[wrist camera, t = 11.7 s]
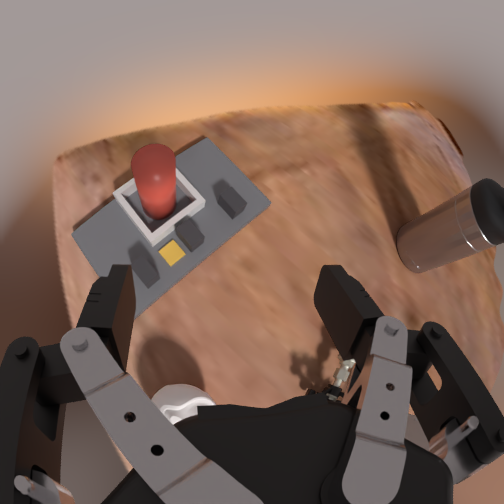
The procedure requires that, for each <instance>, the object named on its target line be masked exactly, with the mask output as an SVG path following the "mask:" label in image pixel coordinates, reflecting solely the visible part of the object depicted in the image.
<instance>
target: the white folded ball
mask: <svg viewBox="0 0 504 504" xmlns="http://www.w3.org/2000/svg"><path fill="white" fill-rule="evenodd" d="M151 401H152V402H153V403H154V404H155V405H156V407H157V408H158V409H159V410H160V411H161V412H162V413H163V415H164V416H165V417H166V418H167V419H168V420H169V421H170V422H171V423H172V424H173V425H174V424H175V423H177V422H179V421H180V420H182V419H185V418H187V417H190V416H193V415H197V414H198V413H197V406H207V405H216V404H215V402H214V401H213V399H212V398H211V397H210V395H209V394H208V393H207V392H204V391H202V390H201V389H199V388H197V387H195V386H192V385H187V384H174V385H166V386H164V387H163V388H161V389H160V390H159V391H158V392H157V393H156V394H155V395H154V396H153V398H152V399H151Z"/></svg>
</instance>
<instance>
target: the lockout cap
mask: <svg viewBox="0 0 504 504" xmlns="http://www.w3.org/2000/svg"><path fill="white" fill-rule="evenodd" d="M131 168H132V172H133V176H134V179H135V183H136V187H137V191H138V194H139V198H140V201H141V205H142V208H143V211H144V213H145V214H146V215H147V216H148V217H149V218H151V219H154V220H162V219H165V218H167V217H169V216H170V215H171V214H172V213H173V212H174V210H175V208H176V158H175V155H174V153H173V151H172V150H171V149H170V148H169V147H167V146H165V145H162V144H150V145H146V146H144V147H142V148H141V149H139V150H138V151H137V152H136V153H135V155H134V156H133V158H132V161H131Z"/></svg>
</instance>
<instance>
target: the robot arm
mask: <svg viewBox="0 0 504 504" xmlns="http://www.w3.org/2000/svg"><path fill="white" fill-rule="evenodd" d="M501 243H504V188H502V187H501V186H500V185H499V184H498V183H496V182H495V181H493V180H492V179H487V178H486V179H482V180H481V181H479V182H477V183H476V184H474V185H473V186H471V187H469V188H468V189H466V190H464V191H463V192H461V193H459V194H458V195H456V196H454V197H453V198H451V199H449V200H448V201H446V202H444V203H442V204H441V205H439V206H437V207H435V208H434V209H432V210H430V211H428V212H427V213H425V214H423V215H421V216H420V217H418V218H416V219H414V220H412V221H410V222H409V223H407V224H405V225H403V226H402V227H401V228H400V230H399V232H398V235H397V248H398V252H399V255H400V257H401V260H402V261H403V263H404V264H405V266H406V267H407V268H408V269H410V270H411V271H413V272H415V273H422V272H425V271H428V270H431V269H434V268H437V267H440V266H443V265H446V264H448V263H451V262H454V261H457V260H460V259H462V258H465V257H468V256H470V255H473V254H476V253H478V252H481V251H483V250H486V249H488V248H491V247H493V246H496V245H498V244H501ZM369 296H370V295H369V294H368V293H367V291H365V289H364V287H363V286H362V285H361V284H360V282H359V281H357V280H356V279H354V278H353V277H352V276H349V275H348V274H347V272H346V271H345V270H344V268H343V267H342V266H341V265H324V266H323V267H322V269H321V272H320V275H319V279H318V282H317V286H316V289H315V293H314V304H315V307H316V309H317V311H318V313H319V315H320V317H321V319H322V321H323V322H324V324H325V326H326V328H327V330H328V332H329V334H330V336H331V338H332V340H333V342H334V344H335V346H336V348H337V349H338V351H339V353H340V355H341V357H342V359H343V361H346V360H351V359H354V360H355V364H354V366H353V368H352V371H351V375H350V378H349V381H348V384H347V388H346V391H345V394H344V397H343V400H342V402H341V403H340V402H336V401H328V400H327V399H326V396H325V394H324V392H322V393H317V394H311V395H305V396H299V397H294V398H292V399H289V400H287V401H284V402H282V403H279V404H277V405H274V406H271V407H268V408H255V407H247V406H239V405H232V404H227V405H207V406H197V413H198V414H197V415H193V416H190V417H187V418H185V419H182V420H180V421H179V422H177V423H175V424H174V425H173V424H172V423H171V422H170V421H169V420H168V419H167V418H166V417H165V416H164V415H163V413H162V412H161V411H160V410H159V409H158V408H157V407H156V405H155V404H154V403H153V402H152V401H151V400H150V398H149V397H148V396H147V395H146V394H145V392H144V391H143V390H142V389H141V388H140V386H139V385H138V384H137V383H136V381H135V380H134V379H133V378H132V376H131V375H130V374H129V373H127V372H126V367H127V360H128V353H129V346H130V340H131V334H132V328H133V322H134V317H135V311H136V294H135V287H134V280H133V273H132V267H131V265H130V264H113V265H112V267H111V269H110V272H109V275H108V277H103V276H101V277H100V278H99V279H98V280H97V281H95V282H94V283H93V285H92V287H91V290H90V292H89V295H88V297H87V300H86V302H85V305H84V307H83V310H82V312H81V315H80V318H79V321H78V323H77V326H76V328H74V329H72V330H70V331H68V332H67V333H66V334H65V335H64V336H63V337H62V339H61V342H60V343H58V344H54V345H48V346H43V347H39V345H38V343H37V342H36V340H34V339H33V338H31V337H21V338H18V339H16V340H14V341H13V342H12V343H11V344H10V345H9V347H8V349H7V351H6V353H5V356H4V358H3V361H2V364H1V367H0V504H75V502H74V499H73V496H72V494H71V493H70V492H69V491H68V489H67V488H66V487H64V486H63V485H61V484H60V467H61V449H62V435H63V426H64V417H65V410H66V403H69V402H76V401H81V400H86V399H87V401H88V403H89V404H90V406H91V408H92V409H93V411H94V413H95V414H96V416H97V417H98V419H99V421H100V422H101V424H102V425H103V427H104V428H105V430H106V431H107V433H108V434H109V435H110V437H111V438H112V440H113V441H114V443H115V444H116V445H117V447H118V448H119V449H120V451H121V452H122V453H123V455H124V456H125V457H126V459H127V460H128V461H129V462H130V464H131V465H132V466H133V467H134V468H133V469H132V470H131V471H130V472H129V473H128V475H127V476H126V477H125V478H124V479H123V480H122V481H121V482H120V483H119V484H118V486H117V487H116V488H115V489H114V490H113V491H112V492H111V493H110V494H109V495H108V496H107V498H106V499H105V500H104V501H103V502H102V503H101V504H453V485H454V484H458V483H460V482H461V481H463V480H465V479H466V478H468V477H470V476H472V475H473V474H475V473H476V472H478V471H479V470H481V469H483V468H484V467H485V466H487V465H488V464H490V463H491V462H493V461H494V460H496V459H497V458H498V457H500V456H501V455H502V454H504V417H503V415H502V413H501V411H500V410H499V408H498V406H497V405H496V403H495V402H494V400H493V398H492V396H491V395H490V393H489V391H488V390H487V388H486V387H485V385H484V383H483V382H482V380H481V379H480V377H479V376H478V374H477V373H476V371H475V370H474V368H473V367H472V365H471V364H470V362H469V361H468V359H467V358H466V357H465V355H464V354H463V352H462V351H461V350H460V348H459V347H458V345H457V344H456V343H455V341H454V340H453V338H452V337H451V336H450V334H449V333H448V332H447V330H446V329H445V328H444V327H443V326H441V325H440V324H438V323H435V322H426V323H424V325H423V326H422V328H421V330H420V331H416V330H407V328H406V326H405V325H404V324H403V323H402V322H401V321H400V320H398V319H396V318H394V317H391V316H385V315H384V314H383V313H382V311H381V310H380V309H379V307H378V306H377V305H376V303H375V302H374V301H373V299H372V298H371V297H369ZM432 364H433V365H434V367H435V369H436V370H437V372H438V374H439V375H440V377H441V379H442V386H441V389H440V390H439V391H438V390H437V388H436V386H435V385H434V383H433V381H432V379H431V378H430V376H429V374H428V373H427V371H428V370H429V368H430V367H431V366H432ZM409 403H410V405H411V407H412V409H413V411H414V413H415V415H416V417H417V419H418V421H419V423H420V425H421V427H422V430H423V432H424V434H425V436H426V438H427V440H428V442H429V451H428V450H426V449H424V448H422V447H420V446H418V445H416V444H415V443H413V442H411V441H409V440H408V439H406V438H405V432H406V425H407V419H408V411H409Z"/></svg>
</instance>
